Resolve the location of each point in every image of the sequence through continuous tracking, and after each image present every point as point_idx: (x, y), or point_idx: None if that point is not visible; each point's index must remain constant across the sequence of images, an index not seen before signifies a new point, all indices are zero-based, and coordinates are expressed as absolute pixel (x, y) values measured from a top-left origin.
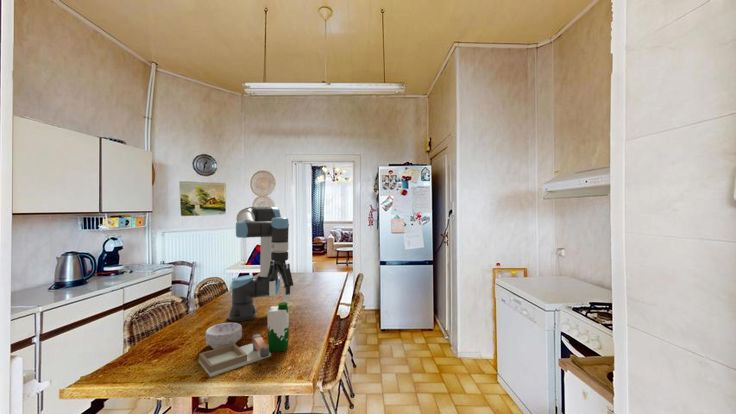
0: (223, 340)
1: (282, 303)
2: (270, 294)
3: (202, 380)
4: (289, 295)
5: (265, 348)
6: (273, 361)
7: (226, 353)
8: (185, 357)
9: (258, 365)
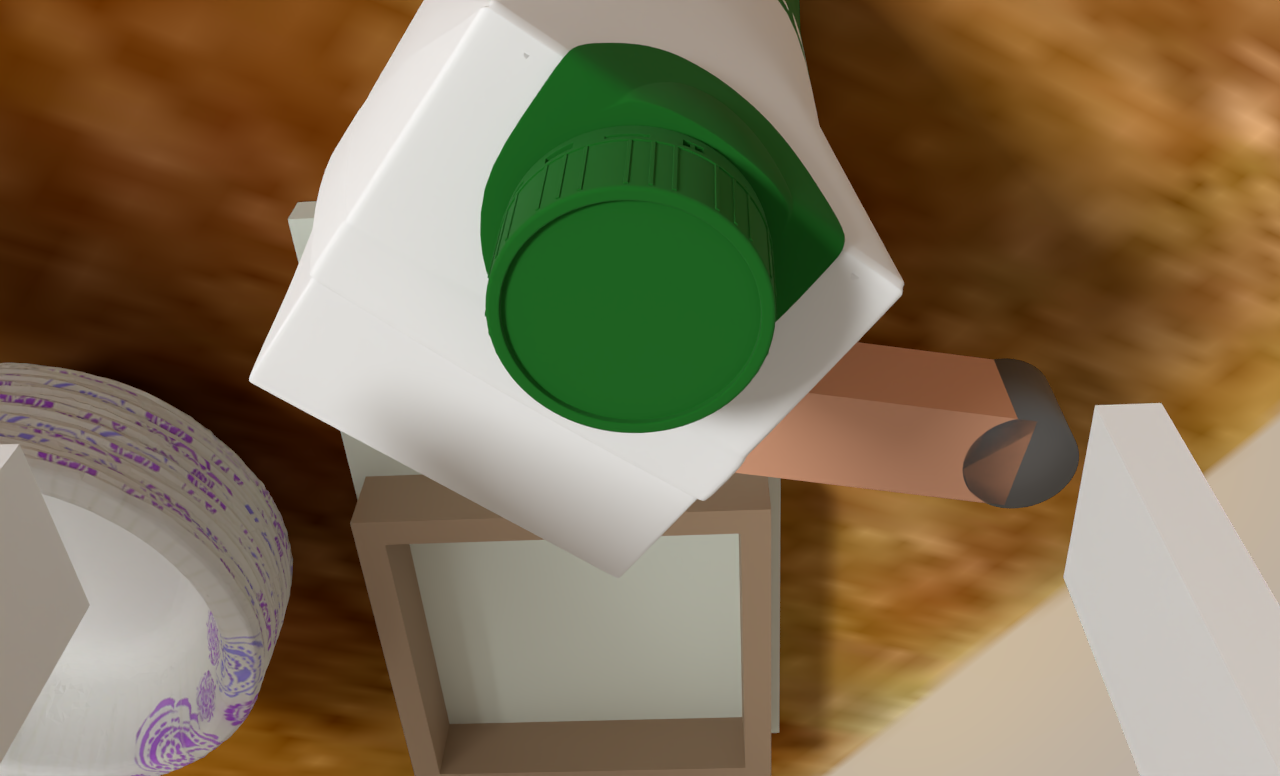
0: (278, 635)
1: (585, 307)
2: (62, 624)
3: (791, 753)
4: (1242, 567)
5: (1040, 461)
6: (943, 209)
7: (436, 558)
8: (245, 765)
9: None
